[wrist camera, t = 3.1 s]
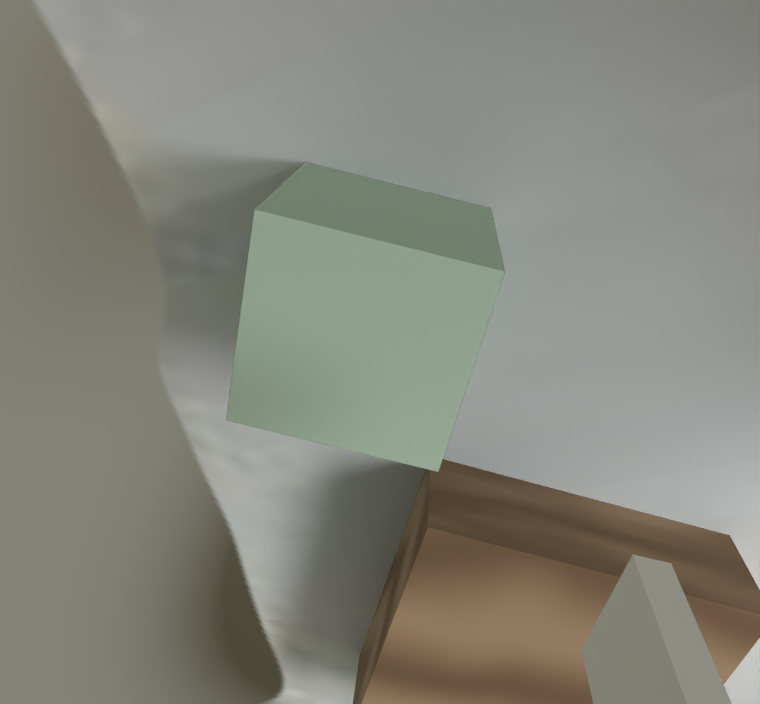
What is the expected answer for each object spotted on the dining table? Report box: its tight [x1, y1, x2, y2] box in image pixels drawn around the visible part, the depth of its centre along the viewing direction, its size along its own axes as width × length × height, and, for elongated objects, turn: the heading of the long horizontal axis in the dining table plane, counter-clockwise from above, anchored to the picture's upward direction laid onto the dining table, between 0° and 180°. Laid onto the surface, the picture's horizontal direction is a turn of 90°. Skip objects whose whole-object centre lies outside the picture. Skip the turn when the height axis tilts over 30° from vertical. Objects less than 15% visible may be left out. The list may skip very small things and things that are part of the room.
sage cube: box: [226, 162, 505, 472], centre depth 22 cm, size 7×7×7 cm
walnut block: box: [353, 459, 760, 704], centre depth 31 cm, size 14×14×5 cm
